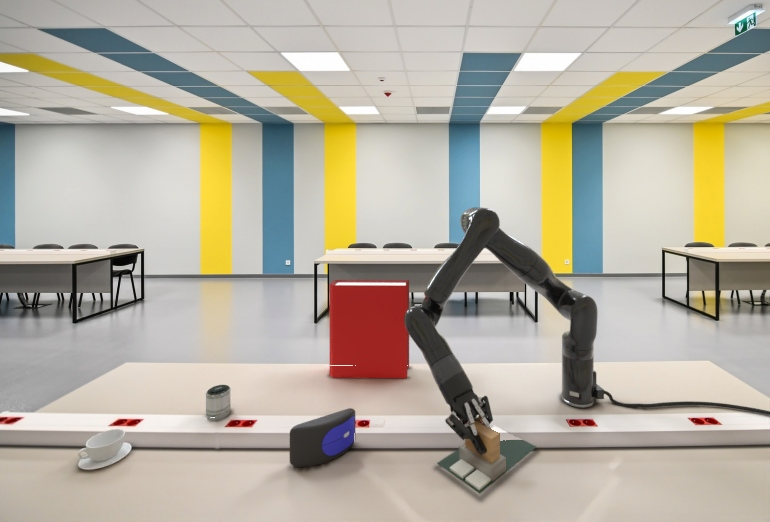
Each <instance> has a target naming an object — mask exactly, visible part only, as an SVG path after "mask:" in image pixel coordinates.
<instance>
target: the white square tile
mask: <svg viewBox="0 0 770 522" xmlns="http://www.w3.org/2000/svg"><path fill="white" fill-rule="evenodd" d="M450 470H451V471H452V472H454V473H455V474H456V475H458V476H459V477H461V478H462V479H463V478H464V477H466V476H467V475H468V474H470V473H471V472H472V471H474V467H473V466H471V465H470V464H468V463H467V462H465V461H464V460H462V459H461V460H459V461H458V462H456V463H455V464H454V465H452V466H451V467H450Z"/></svg>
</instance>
